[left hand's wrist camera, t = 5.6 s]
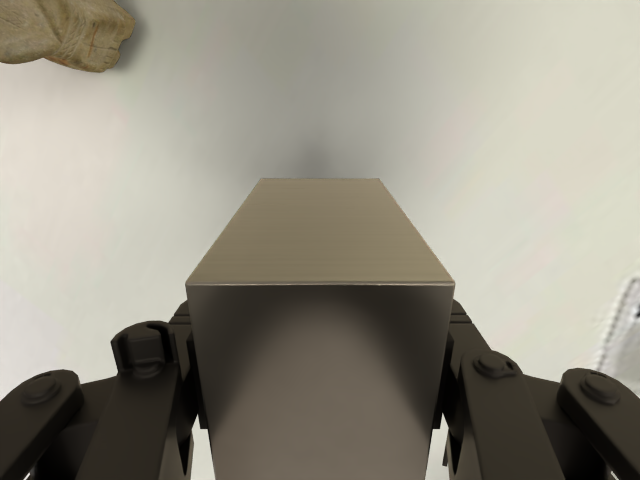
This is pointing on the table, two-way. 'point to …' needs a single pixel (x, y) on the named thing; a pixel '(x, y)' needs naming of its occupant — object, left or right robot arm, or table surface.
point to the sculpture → (64, 32)
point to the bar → (320, 335)
